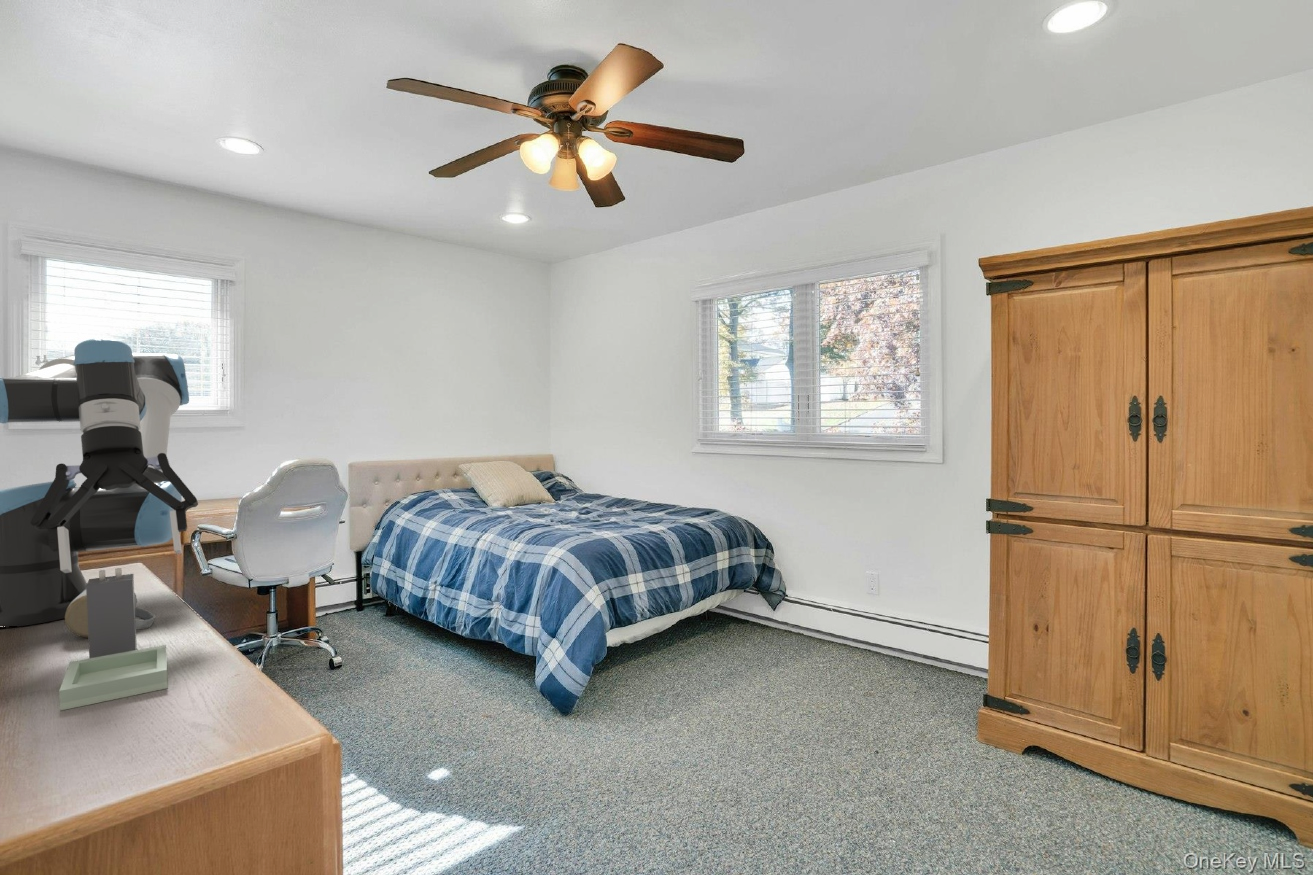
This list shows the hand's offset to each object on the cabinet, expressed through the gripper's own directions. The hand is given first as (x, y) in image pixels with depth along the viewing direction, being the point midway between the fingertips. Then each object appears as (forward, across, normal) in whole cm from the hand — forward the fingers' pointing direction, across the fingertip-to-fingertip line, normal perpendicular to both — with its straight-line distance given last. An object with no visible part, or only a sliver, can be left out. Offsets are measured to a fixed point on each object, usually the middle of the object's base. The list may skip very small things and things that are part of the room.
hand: (124, 561), depth 102 cm
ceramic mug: (+9, -4, +11) cm, 14 cm away
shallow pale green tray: (+19, 0, -17) cm, 25 cm away
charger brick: (+14, -2, -4) cm, 15 cm away
